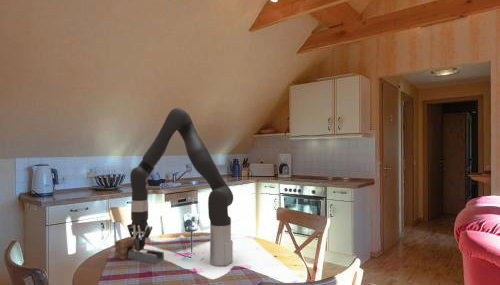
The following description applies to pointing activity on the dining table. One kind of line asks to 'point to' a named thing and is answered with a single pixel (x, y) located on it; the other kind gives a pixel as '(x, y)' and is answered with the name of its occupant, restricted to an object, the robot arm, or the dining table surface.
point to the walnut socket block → (123, 247)
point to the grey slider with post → (137, 247)
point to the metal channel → (146, 256)
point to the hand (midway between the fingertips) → (139, 246)
